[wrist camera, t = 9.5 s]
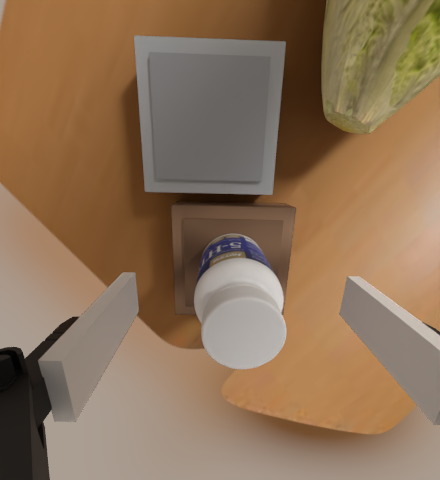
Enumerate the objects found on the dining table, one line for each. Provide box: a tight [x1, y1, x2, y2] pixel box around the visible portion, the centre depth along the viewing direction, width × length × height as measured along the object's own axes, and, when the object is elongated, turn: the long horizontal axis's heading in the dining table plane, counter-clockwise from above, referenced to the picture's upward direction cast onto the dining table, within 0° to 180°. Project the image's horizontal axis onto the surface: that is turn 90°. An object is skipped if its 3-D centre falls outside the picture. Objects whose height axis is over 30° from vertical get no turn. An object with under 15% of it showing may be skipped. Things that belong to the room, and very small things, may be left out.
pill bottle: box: [194, 234, 286, 369], centre depth 14 cm, size 5×5×9 cm
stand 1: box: [134, 36, 286, 195], centre depth 17 cm, size 10×10×3 cm
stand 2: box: [171, 201, 296, 315], centre depth 20 cm, size 10×10×3 cm
